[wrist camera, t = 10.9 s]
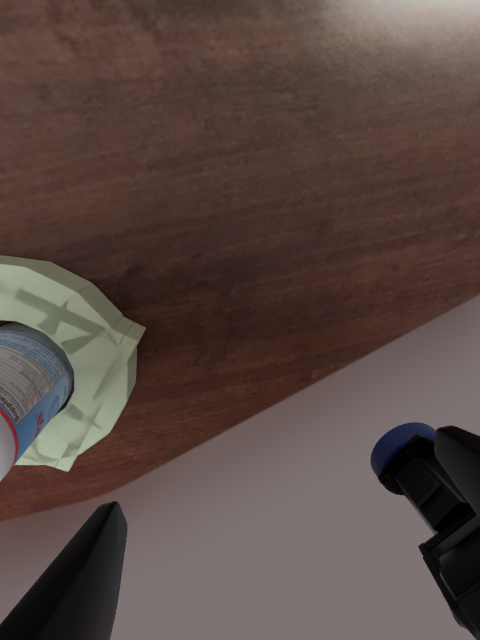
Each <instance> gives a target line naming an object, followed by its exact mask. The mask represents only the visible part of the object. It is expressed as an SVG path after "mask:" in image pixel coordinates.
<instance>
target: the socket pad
mask: <svg viewBox="0 0 480 640" xmlns="http://www.w3.org/2000/svg"><path fill="white" fill-rule="evenodd" d="M0 320H6V321H16V322H20V323H22V324H25V325H27V326H29V327H31V328H34V329H36V330H38V331H41V332H43V333H45V334H46V335H47V336H48V337H49V338H50V339H51V340H52V341H54V342H55V343H56V344H57V345H58V346H59V347H60V348H61V349H63V350H64V352H65V354H66V356H67V358H68V360H69V362H70V364H71V366H72V368H73V370H74V392H73V394H72V395H70V396H69V398H68V399H67V400H66V401H65V403H64V404H63V405H62V406H61V408H60V409H59V410H58V411H57V413H56V414H55V415H54V416H53V417H52V419H51V420H50V421H49V422H48V424H47V425H46V426H45V427H44V429H43V430H42V431H41V432H40V434H39V435H38V436H37V437H36V439H35V440H34V441H33V442H32V444H31V445H30V446H29V447H28V448H27V450H26V451H25V452H24V453H23V455H22V456H21V457H20V458H19V460H18V461H17V462H16V463H15V465H44V464H45V465H48V466H51V467H55V466H56V468H57V469H60V470H64V471H67V472H68V471H69V470H70V468H71V466H72V465H73V463H74V461H75V459H76V458H77V456H78V455H79V454H81V453H83V452H84V451H85V450H87V449H88V448H89V447H91V446H92V445H94V444H95V443H96V442H98V441H99V440H100V439H102V438H103V437H105V436H106V435H107V434H109V433H110V432H111V430H112V428H113V426H114V425H115V423H116V421H117V419H118V417H119V416H120V414H121V412H122V410H123V409H124V407H125V405H126V403H127V401H128V399H129V397H130V394H131V392H132V390H133V388H134V385H135V383H136V369H137V345H138V343H139V341H140V339H141V337H142V336H143V334H144V332H145V330H146V327H144V326H142V325H139V324H137V323H135V322H133V321H131V320H129V319H127V318H125V317H124V316H123V315H122V313H121V312H120V311H119V310H118V309H117V308H116V307H115V306H114V305H113V304H112V302H111V301H110V300H109V299H108V298H107V297H106V296H105V295H104V294H103V293H102V292H101V291H100V290H99V289H98V288H97V287H96V286H95V285H94V284H92V282H90V281H88V280H86V279H84V278H82V277H80V276H78V275H76V274H74V273H72V272H70V271H68V270H66V269H64V268H62V267H60V266H58V265H56V264H54V263H52V262H49V261H42V260H34V259H26V258H19V257H11V256H3V255H2V256H0Z"/></svg>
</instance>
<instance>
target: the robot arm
mask: <svg viewBox="0 0 480 640" xmlns="http://www.w3.org/2000/svg"><path fill="white" fill-rule="evenodd" d="M378 480H379V482H380V483H381V484H383V485H385V486H388V487H390V488H392V489H395V490H397V491H399V492H402V493H403V494H404V495H405V496H406V498H407V499H408V500H409V502H410V503H411V504H412V506H413V507H414V508H415V510H416V511H417V512H418V514H419V515H420V516H421V518H422V519H423V520H424V521H425V523H426V524H427V526H428V527H429V528H430V530H431V531H432V532H433V533H434V536H433V537H431V538H430V539H429V540H428V541H426V542H425V543H421V544H420V545H419V546H418V547H419V549H420V551H421V553H422V555H423V559H424V561H425V563H426V564H427V566H428V568H429V570H430V572H431V574H432V575H433V577H434V579H435V581H436V583H437V584H438V586H439V588H440V590H441V592H442V594H443V596H444V597H445V599H446V601H447V603H448V605H449V607H450V610H451V612H452V614H453V617H454V619H455V620H456V621H457V623H458V624H459V625H460V626H461V627H463V628H465V629H467V630H469V631H470V633H471V634H472V635H473V636H474V637H475V638H476V639H477V640H480V436H478V435H475V434H473V433H471V432H468V431H466V430H463V429H460V428H458V427H455V426H445V427H441V428H438V429H437V430H436V435H435V442H434V441H432V440H430V439H428V438H426V437H424V436H422V435H421V434H416V435H414V436H413V437H412V438H411V439H410V441H409V442H408V443H407V444H406V445H405V446H404V447H403V449H402V450H401V451H400V452H399V453H398V454H397V455H396V457H395V458H394V459H393V460H392V461H391V462H390V463H389V465H388V466H387V467H386V468H385V469H384V470H383V471H382V473H381V474H380V475H379V476H378ZM126 537H127V522H126V519H125V517H124V515H123V512H122V510H121V508H120V505H119V504H118V502H116V501H113V502H109V503H104V504H102V505H100V506H99V507H98V508H97V509H96V510H95V512H94V513H93V514H92V515H91V516H90V517H89V519H88V520H87V521H86V522H85V523H84V525H83V526H82V527H81V528H80V530H79V531H78V532H77V533H76V534H75V536H74V537H73V538H72V539H71V540H70V541H69V543H68V544H67V545H66V546H65V547H64V549H63V550H62V551H61V553H59V555H58V556H57V557H56V558H55V559H54V561H53V562H52V563H51V564H50V565H49V567H48V568H47V569H46V570H45V571H44V573H43V574H42V575H41V576H40V577H39V579H38V580H37V581H36V582H35V583H34V585H33V586H32V587H31V588H30V590H29V591H28V592H27V593H26V594H25V595H24V597H23V598H22V599H21V600H20V601H19V603H18V604H17V605H16V606H15V607H14V609H13V610H12V611H11V612H10V614H9V615H8V616H7V617H6V618H5V619H4V621H3V622H2V623H1V624H0V640H110V637H111V632H112V628H113V623H114V619H115V614H116V608H117V603H118V597H119V590H120V582H121V575H122V567H123V560H124V552H125V545H126Z"/></svg>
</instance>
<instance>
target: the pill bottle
mask: <svg viewBox="0 0 480 640" xmlns="http://www.w3.org/2000/svg"><path fill="white" fill-rule="evenodd" d="M73 391H74V370H73V368H72V366H71V364H70V362H69V360H68V358H67V356H66V354H65V352H64V350H63V349H61V348H60V347H59V346H58V345H57V344H56V343H55V342H54V341H52V340H51V339H50V338H49V337H48V336H47V335H46V334H45V333H43V332H41V331H38V330H36V329H34V328H31V327H29V326H27V325H25V324H22V323H20V322H15V323H10V324H7V325H4V326H1V327H0V481H1V480H2V479H3V478H4V476H5V475H6V474H7V473H8V472H9V471H10V469H11V468H12V467H13V466H14V465H15V463H16V462H17V461H18V460H19V458H20V457H21V456H22V455H23V453H24V452H25V451H26V450H27V448H28V447H29V446H30V445H31V444H32V442H33V441H34V440H35V439H36V437H37V436H38V435H39V434H40V432H41V431H42V430H43V429H44V427H45V426H46V425H47V424H48V422H49V421H50V420H51V419H52V417H53V416H54V415H55V414H56V413H57V411H58V410H59V409H60V408H61V406H62V405H63V404H64V403H65V401H66V400H67V399H68V398H69V396H70V395H71V394H72V393H73Z"/></svg>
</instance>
